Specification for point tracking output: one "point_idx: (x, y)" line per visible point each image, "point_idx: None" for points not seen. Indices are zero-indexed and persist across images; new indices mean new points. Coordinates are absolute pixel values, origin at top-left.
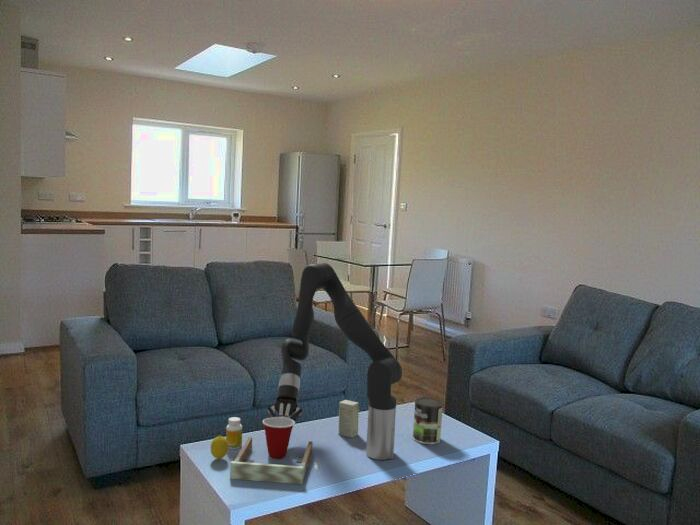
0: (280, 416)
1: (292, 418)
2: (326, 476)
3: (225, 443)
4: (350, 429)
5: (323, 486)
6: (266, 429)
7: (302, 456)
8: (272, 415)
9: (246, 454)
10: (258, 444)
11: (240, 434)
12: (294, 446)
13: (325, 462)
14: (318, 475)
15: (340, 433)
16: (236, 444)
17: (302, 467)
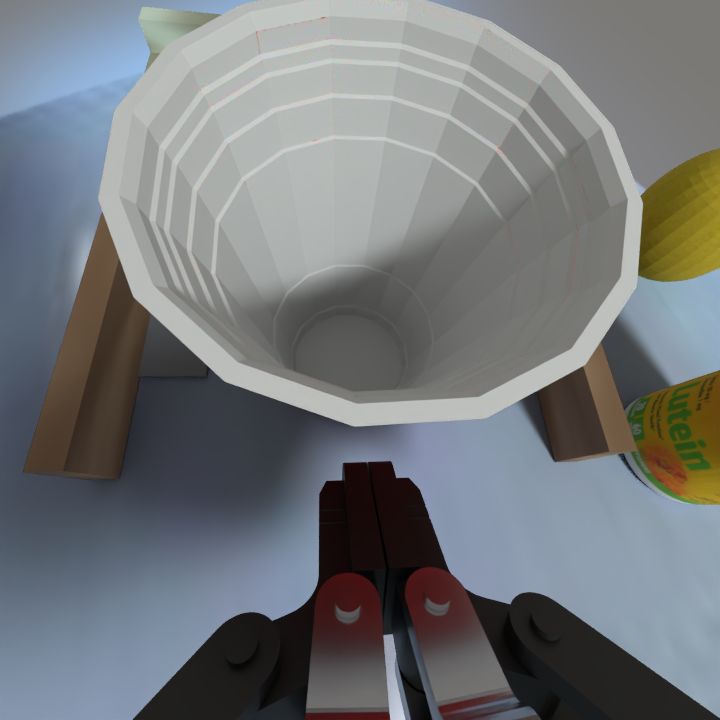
0: (486, 699)
1: (194, 696)
2: (39, 166)
3: (680, 175)
4: None
5: (73, 93)
6: (484, 135)
7: (171, 364)
8: (670, 701)
9: None
10: (534, 525)
11: (712, 400)
12: (245, 557)
13: (8, 315)
14: (84, 171)
15: None
16: (653, 394)
17: (142, 12)
